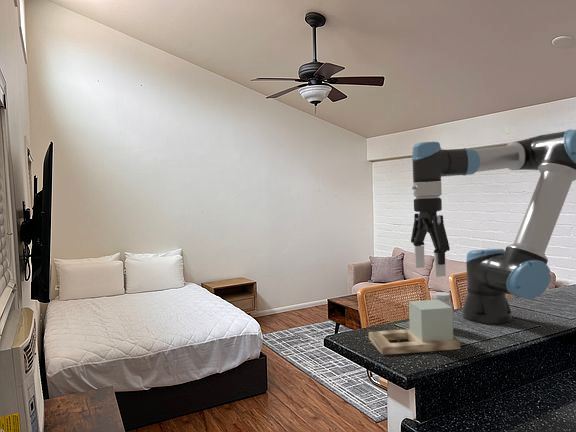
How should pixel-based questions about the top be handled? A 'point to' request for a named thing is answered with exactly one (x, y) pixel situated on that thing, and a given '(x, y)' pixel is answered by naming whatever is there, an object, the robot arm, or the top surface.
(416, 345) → the board
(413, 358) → the top surface
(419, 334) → the block
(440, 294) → the pill bottle
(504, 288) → the robot arm
